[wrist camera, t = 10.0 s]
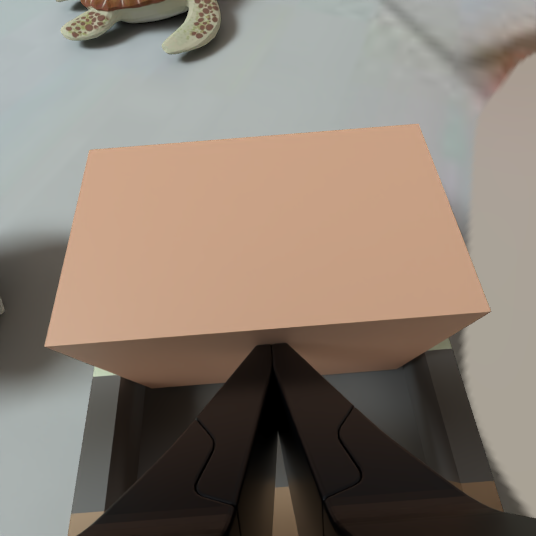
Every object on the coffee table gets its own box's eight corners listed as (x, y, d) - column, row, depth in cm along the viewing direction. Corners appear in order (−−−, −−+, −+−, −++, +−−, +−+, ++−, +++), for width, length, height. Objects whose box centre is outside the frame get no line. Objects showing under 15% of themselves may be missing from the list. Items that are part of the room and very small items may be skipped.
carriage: (396, 369, 14) (491, 311, 8) (151, 388, 14) (43, 346, 8) (366, 242, 17) (418, 123, 10) (162, 259, 17) (89, 149, 10)
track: (502, 693, 11) (594, 798, 8) (96, 724, 11) (19, 842, 8) (374, 205, 19) (392, 159, 16) (149, 222, 19) (123, 181, 16)
